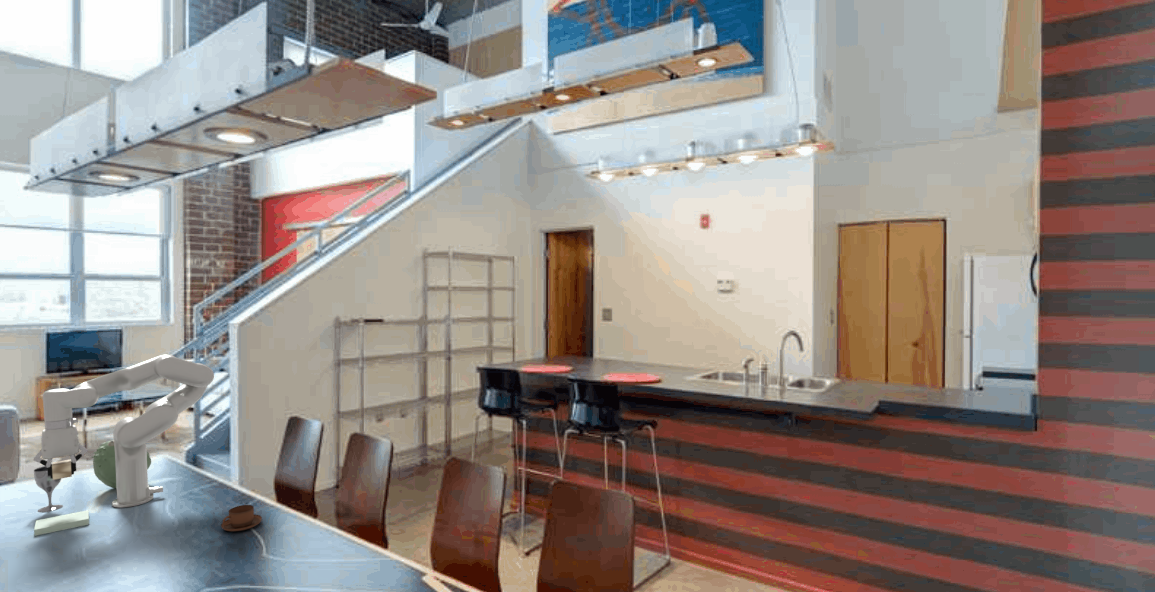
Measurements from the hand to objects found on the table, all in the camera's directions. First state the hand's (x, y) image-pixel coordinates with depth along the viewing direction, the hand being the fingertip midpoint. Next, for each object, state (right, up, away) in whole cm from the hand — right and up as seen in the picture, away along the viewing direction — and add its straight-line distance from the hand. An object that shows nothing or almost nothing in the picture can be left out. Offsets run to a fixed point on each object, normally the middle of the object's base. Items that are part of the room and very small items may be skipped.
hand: (62, 475), depth 217 cm
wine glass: (-11, -15, +8) cm, 20 cm away
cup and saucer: (+69, -15, -11) cm, 71 cm away
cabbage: (0, -14, +30) cm, 33 cm away
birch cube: (0, -1, 0) cm, 1 cm away
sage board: (+6, -15, -7) cm, 18 cm away
